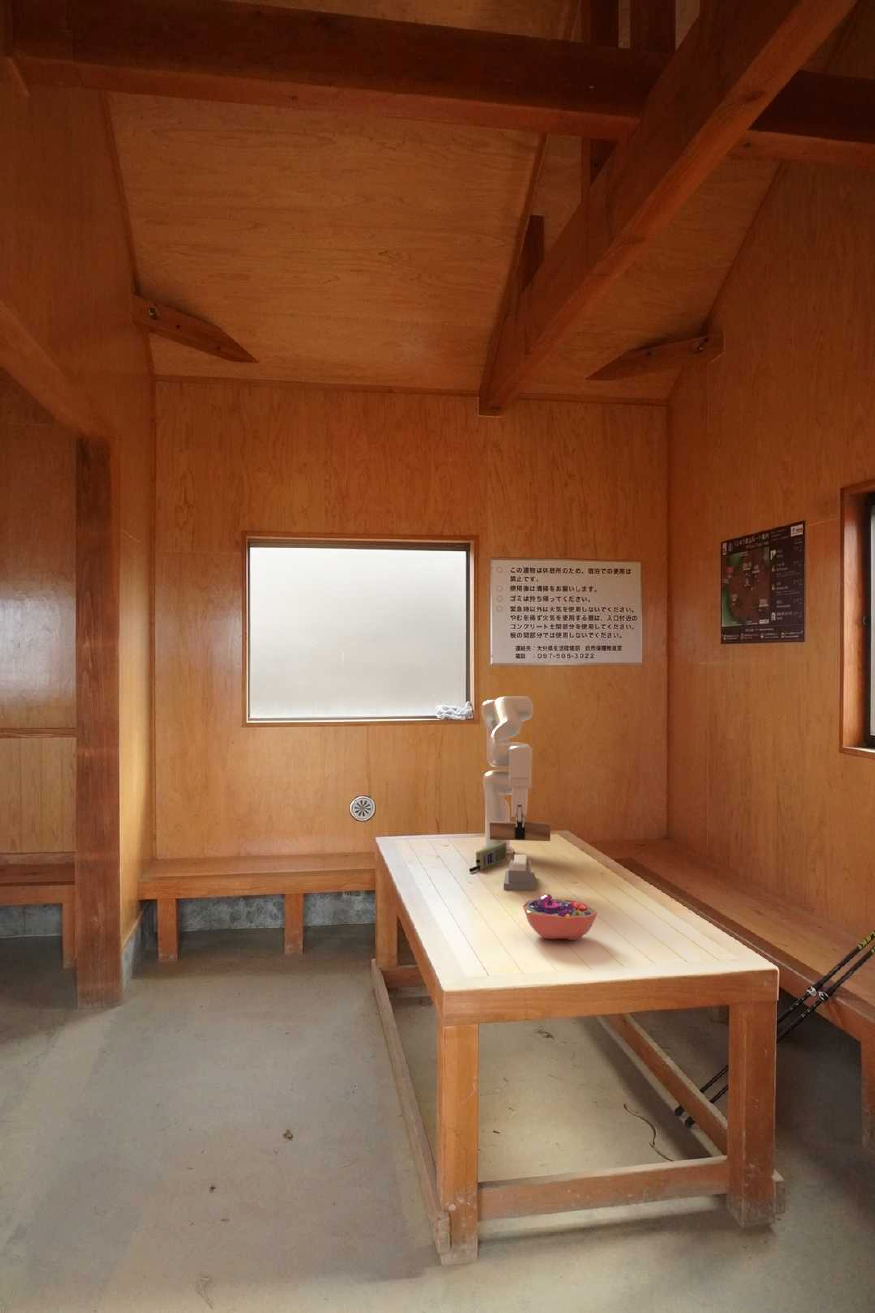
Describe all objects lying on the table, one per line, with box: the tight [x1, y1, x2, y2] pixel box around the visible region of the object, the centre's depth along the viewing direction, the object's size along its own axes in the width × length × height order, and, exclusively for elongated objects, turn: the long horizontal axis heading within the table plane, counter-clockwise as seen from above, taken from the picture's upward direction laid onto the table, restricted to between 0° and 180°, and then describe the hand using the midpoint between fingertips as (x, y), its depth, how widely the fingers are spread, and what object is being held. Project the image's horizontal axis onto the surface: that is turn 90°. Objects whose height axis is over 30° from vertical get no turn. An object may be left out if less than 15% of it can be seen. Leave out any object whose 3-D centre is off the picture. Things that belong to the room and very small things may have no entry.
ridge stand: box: [503, 854, 536, 892], centre depth 276 cm, size 16×10×8 cm, turn 173°
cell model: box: [522, 893, 598, 941], centre depth 222 cm, size 17×20×11 cm
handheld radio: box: [469, 842, 508, 873], centre depth 300 cm, size 7×3×25 cm
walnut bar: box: [490, 821, 551, 842], centre depth 276 cm, size 4×20×6 cm, turn 83°
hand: (520, 837), depth 276 cm, fingers closed on walnut bar, 3 cm apart
